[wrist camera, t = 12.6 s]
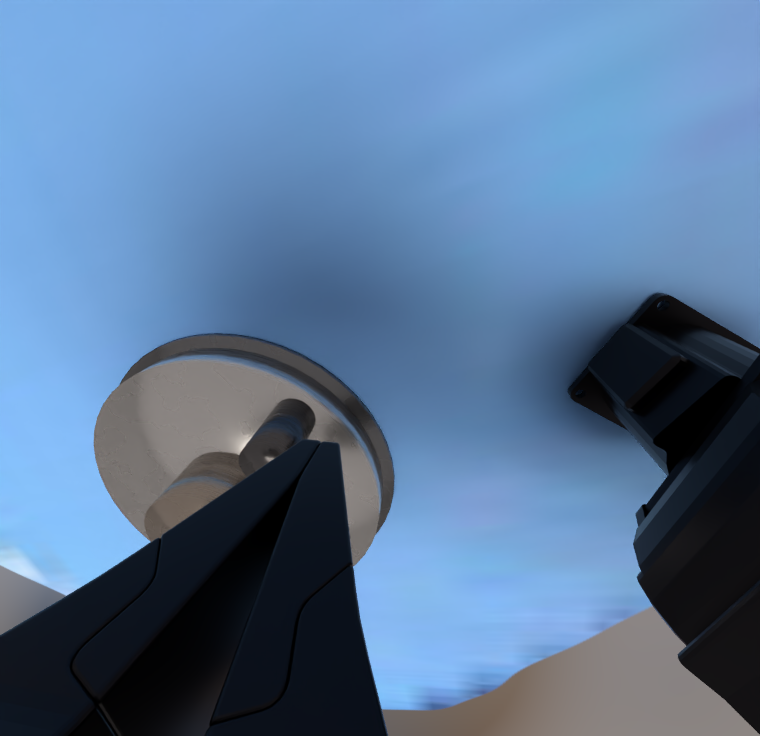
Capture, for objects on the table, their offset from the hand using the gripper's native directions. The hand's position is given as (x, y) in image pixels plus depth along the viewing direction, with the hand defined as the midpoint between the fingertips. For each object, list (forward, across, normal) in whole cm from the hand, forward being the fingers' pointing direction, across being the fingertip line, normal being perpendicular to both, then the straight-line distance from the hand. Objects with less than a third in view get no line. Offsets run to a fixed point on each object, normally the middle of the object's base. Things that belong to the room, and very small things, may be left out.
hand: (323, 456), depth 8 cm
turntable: (+12, +9, +12) cm, 19 cm away
